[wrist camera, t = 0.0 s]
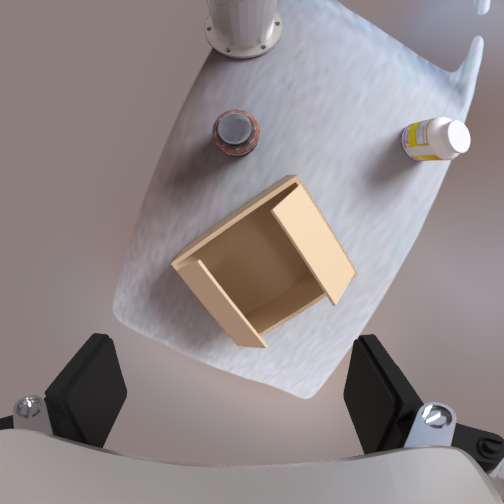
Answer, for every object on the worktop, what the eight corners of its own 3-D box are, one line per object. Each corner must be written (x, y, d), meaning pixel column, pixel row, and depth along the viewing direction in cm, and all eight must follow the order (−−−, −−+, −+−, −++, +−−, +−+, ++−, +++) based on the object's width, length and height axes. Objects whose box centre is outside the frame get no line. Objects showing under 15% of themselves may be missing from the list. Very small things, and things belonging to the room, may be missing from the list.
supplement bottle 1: (219, 119, 42) (210, 102, 31) (258, 120, 42) (261, 104, 32) (217, 156, 44) (207, 151, 33) (256, 158, 44) (259, 152, 33)
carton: (184, 247, 47) (170, 263, 39) (287, 175, 45) (296, 175, 36) (241, 320, 51) (240, 348, 42) (340, 257, 48) (358, 274, 39)
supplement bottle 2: (435, 149, 43) (481, 147, 31) (412, 167, 44) (457, 169, 32) (417, 117, 42) (460, 106, 29) (393, 134, 43) (435, 126, 30)
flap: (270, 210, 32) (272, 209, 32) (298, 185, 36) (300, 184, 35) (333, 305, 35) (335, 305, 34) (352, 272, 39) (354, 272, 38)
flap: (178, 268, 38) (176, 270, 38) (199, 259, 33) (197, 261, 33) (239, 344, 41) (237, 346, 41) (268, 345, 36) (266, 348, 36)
